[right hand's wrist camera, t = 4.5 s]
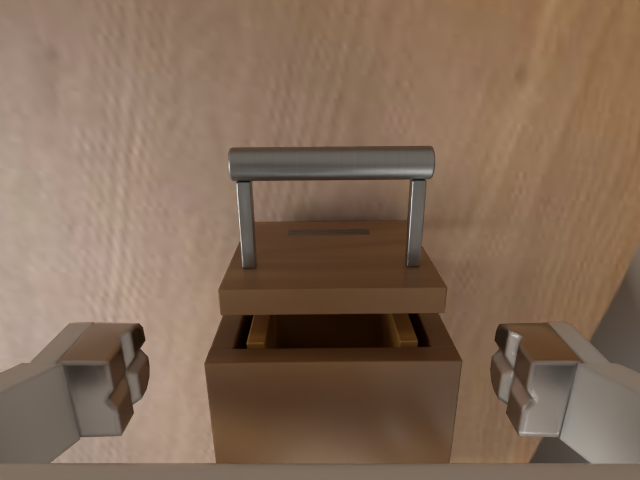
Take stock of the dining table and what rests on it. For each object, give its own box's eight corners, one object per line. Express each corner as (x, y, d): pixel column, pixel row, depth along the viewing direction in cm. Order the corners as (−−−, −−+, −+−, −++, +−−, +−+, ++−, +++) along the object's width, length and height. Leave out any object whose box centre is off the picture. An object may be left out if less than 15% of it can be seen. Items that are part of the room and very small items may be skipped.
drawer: (241, 128, 24) (204, 158, 16) (413, 127, 24) (460, 156, 16) (262, 430, 32) (243, 553, 24) (393, 428, 32) (420, 551, 24)
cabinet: (243, 259, 28) (204, 363, 18) (410, 257, 28) (462, 360, 18) (258, 463, 34) (234, 626, 24) (396, 461, 34) (429, 623, 24)
